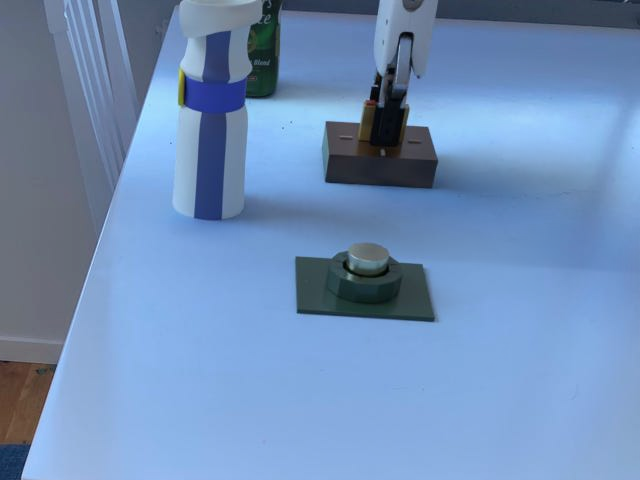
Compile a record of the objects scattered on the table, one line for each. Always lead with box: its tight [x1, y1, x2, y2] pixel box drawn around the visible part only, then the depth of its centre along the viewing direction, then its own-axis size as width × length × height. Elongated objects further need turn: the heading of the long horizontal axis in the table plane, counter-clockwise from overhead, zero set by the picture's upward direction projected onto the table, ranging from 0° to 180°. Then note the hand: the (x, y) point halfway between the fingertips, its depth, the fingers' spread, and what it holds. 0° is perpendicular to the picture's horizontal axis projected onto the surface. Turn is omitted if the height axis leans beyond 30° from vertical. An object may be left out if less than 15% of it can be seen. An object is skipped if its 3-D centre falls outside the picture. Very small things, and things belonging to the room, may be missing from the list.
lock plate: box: [321, 120, 439, 189], centre depth 108 cm, size 12×10×3 cm
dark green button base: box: [294, 250, 436, 323], centre depth 86 cm, size 12×10×4 cm
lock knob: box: [358, 99, 411, 143], centre depth 105 cm, size 5×1×4 cm, turn 85°
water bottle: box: [172, 0, 262, 221], centre depth 92 cm, size 8×9×25 cm
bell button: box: [345, 242, 390, 278], centre depth 84 cm, size 4×4×2 cm
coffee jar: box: [246, 0, 283, 97], centre depth 119 cm, size 10×8×19 cm
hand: (381, 133), depth 106 cm, fingers open, 5 cm apart
